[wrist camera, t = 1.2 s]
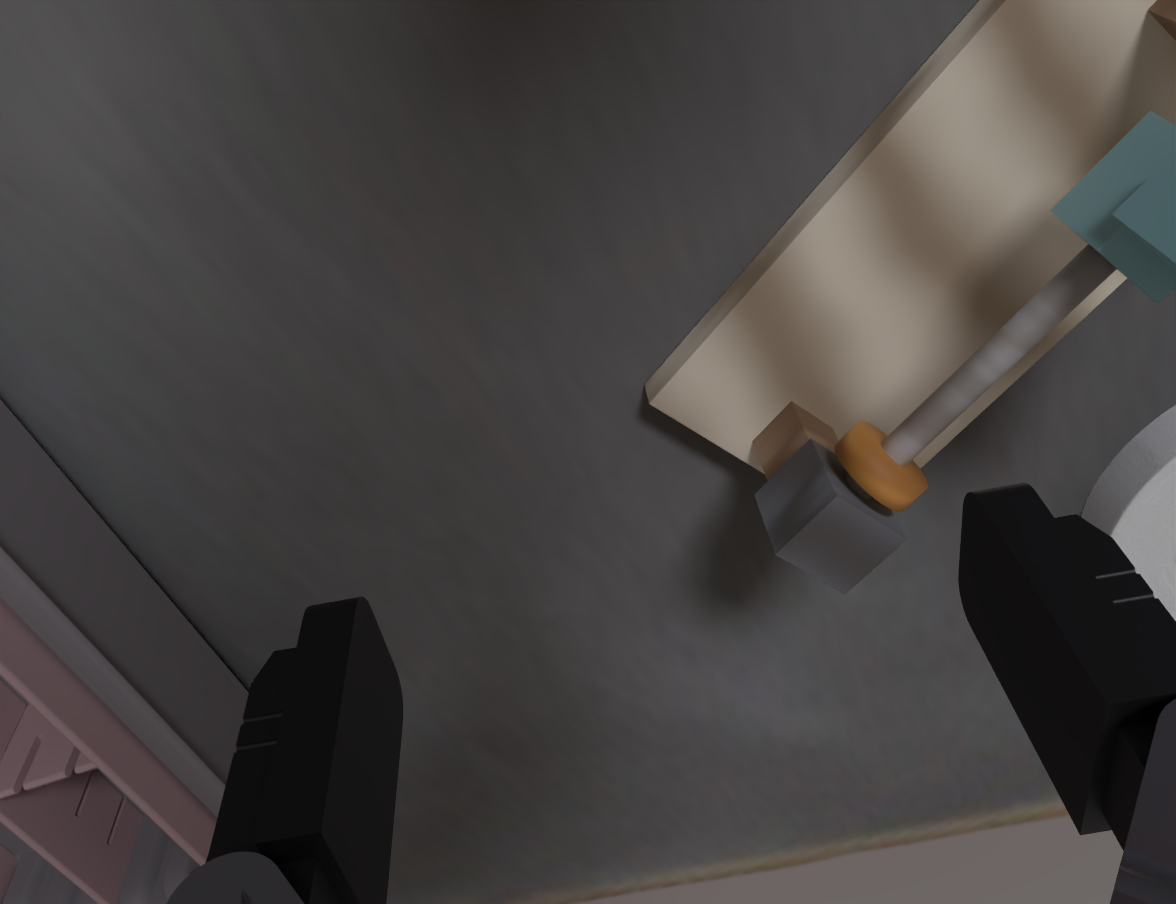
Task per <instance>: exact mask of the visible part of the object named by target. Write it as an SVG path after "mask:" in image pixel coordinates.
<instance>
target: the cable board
mask: <svg viewBox="0 0 1176 904" xmlns="http://www.w3.org/2000/svg"><path fill="white" fill-rule="evenodd" d="M1149 111H1152V112H1153V113H1155V114H1157V115H1159V116H1160V117H1162V118H1164V119H1166V120H1167V121H1169V122H1171V123H1173V124H1174V125H1176V0H979V2H978V3H977V4H976V5H975V6H974V7H973V8H972V10H971V11H970V12H969V13H968V14H967V15H966V16H965V18H964V19H963V20H962V21H961V22H960V23H959V24H958V26H957V27H956V28H955V29H954V30H953V31H952V33H951V34H950V35H949V36H948V37H947V38H946V39H945V41H944V42H943V43H942V44H941V45H940V46H939V47H938V49H937V50H936V51H935V52H934V53H933V54H932V55H931V57H930V58H929V59H928V60H927V61H926V62H925V63H924V65H923V66H922V67H921V68H920V69H919V70H918V72H917V73H916V74H915V75H914V76H913V77H912V78H911V80H910V81H909V82H908V83H907V84H906V85H905V86H904V88H903V89H902V90H901V91H900V92H899V93H898V94H897V96H896V97H895V98H894V99H893V100H892V101H891V102H890V104H889V105H888V106H887V107H886V108H885V109H884V111H883V112H882V113H881V114H880V115H879V116H878V117H877V119H876V120H875V121H874V122H873V123H872V124H871V125H870V127H869V128H868V129H867V130H866V131H865V132H864V133H863V135H862V136H861V137H860V138H859V139H858V140H857V141H856V143H855V144H854V145H853V146H852V147H851V148H850V150H849V151H848V152H847V153H846V154H845V155H844V156H843V158H842V159H841V160H840V161H839V162H838V163H837V164H836V166H835V167H834V168H833V169H832V170H831V171H830V172H829V174H828V175H827V176H826V177H825V178H824V179H823V180H822V182H821V183H820V184H819V185H818V186H817V187H816V189H815V190H814V191H813V192H812V193H811V194H810V195H809V197H808V198H807V199H806V200H805V201H804V202H803V203H802V205H801V206H800V207H799V208H798V209H797V210H796V211H795V213H794V214H793V215H792V216H791V217H790V218H789V219H788V221H787V222H786V223H785V224H784V225H783V226H782V228H781V229H780V230H779V231H778V232H777V233H776V234H775V236H774V237H773V238H772V239H771V240H770V241H769V242H768V244H767V245H766V246H765V247H764V248H763V249H762V250H761V252H760V253H759V254H758V255H757V256H756V257H755V258H754V260H753V261H752V262H751V263H750V264H749V265H748V267H747V268H746V269H745V270H744V271H743V272H742V273H741V275H740V276H739V277H738V278H737V279H736V280H735V281H734V283H733V284H732V285H731V286H730V287H729V288H728V289H727V291H726V292H725V293H724V294H723V295H722V296H721V298H720V299H719V300H718V301H717V302H716V303H715V304H714V306H713V307H712V308H711V309H710V310H709V311H708V312H707V314H706V315H705V316H704V317H703V318H702V319H701V320H700V322H699V323H698V324H697V325H696V326H695V327H694V328H693V330H692V331H691V332H690V333H689V334H688V335H687V337H686V338H685V339H684V340H683V341H682V342H681V343H680V345H679V346H678V347H677V348H676V349H675V350H674V351H673V353H672V354H671V355H670V356H669V357H668V358H667V359H666V361H665V362H664V363H663V364H662V365H661V366H660V367H659V369H658V370H657V371H656V372H655V373H654V374H653V376H652V377H651V378H650V379H649V380H648V381H647V382H646V384H645V389H646V393H647V397H648V401H649V404H650V405H652V406H653V407H655V408H657V409H658V410H660V411H662V412H663V413H665V414H667V415H668V416H670V417H671V418H673V419H675V420H676V421H678V422H680V423H681V424H683V425H685V426H686V427H688V428H690V429H691V430H693V431H694V432H696V433H698V434H699V435H701V436H703V437H704V438H706V439H708V440H709V441H711V442H713V443H714V444H716V445H717V446H719V447H721V448H722V449H724V450H726V451H727V452H729V453H731V454H732V455H734V456H736V457H737V458H739V459H740V460H742V461H744V462H745V463H747V464H749V465H750V466H752V467H754V468H755V469H757V470H759V471H760V472H762V473H763V474H765V476H766V479H767V482H766V483H765V484H764V485H763V486H762V487H761V488H760V489H759V490H758V491H757V492H756V493H755V494H754V496H755V498H756V501H757V504H758V507H759V510H760V513H761V516H762V519H763V521H764V524H765V527H766V530H767V533H768V536H769V539H770V542H771V545H772V547H773V550H774V553H775V555H776V556H778V557H780V558H781V559H783V560H785V561H787V562H788V563H790V564H792V565H794V566H795V567H797V568H799V569H801V570H802V571H804V572H806V573H808V574H809V575H811V576H813V577H815V578H816V579H818V580H820V581H822V582H824V583H825V584H827V585H829V586H831V587H832V588H834V589H836V590H838V591H839V592H841V593H843V594H846V593H847V592H848V591H850V590H851V589H852V588H853V587H854V586H855V585H856V584H857V583H859V582H860V581H861V580H862V579H863V578H864V577H865V576H866V575H868V574H869V573H870V572H871V571H872V570H873V569H874V568H875V567H877V566H878V565H879V564H880V563H881V562H882V561H883V560H884V559H886V558H887V557H888V556H889V555H890V554H891V553H892V552H893V551H895V550H896V549H897V548H898V547H899V546H900V545H901V544H902V543H904V542H905V541H906V540H907V539H906V537H905V535H904V533H903V531H902V529H901V527H900V525H899V523H898V521H897V519H896V517H895V516H894V514H893V512H892V510H894V511H897V512H901V511H903V510H904V509H905V508H906V507H908V506H909V505H910V504H911V503H912V502H913V501H914V500H915V499H916V498H917V497H919V496H920V495H921V494H922V493H923V492H924V491H925V490H926V489H927V488H928V482H927V480H926V478H925V476H924V474H923V472H922V471H921V470H920V469H921V468H922V467H923V466H924V465H925V464H926V463H927V462H928V461H929V460H931V459H932V458H933V457H934V456H935V455H936V454H937V453H938V452H939V451H940V450H941V449H942V448H944V447H945V446H946V445H947V444H948V443H949V442H950V441H951V440H952V439H953V438H954V437H955V436H957V435H958V434H959V433H960V432H961V431H962V430H963V429H964V428H965V427H966V426H967V425H968V424H970V423H971V422H972V421H973V420H974V419H975V418H976V417H977V416H978V415H979V414H980V413H982V412H983V411H984V410H985V409H986V408H987V407H988V406H989V405H990V404H991V403H992V402H993V401H995V400H996V399H997V398H998V397H999V396H1000V395H1001V394H1002V393H1003V392H1004V391H1005V390H1006V389H1008V388H1009V387H1010V386H1011V385H1012V384H1013V383H1014V382H1015V381H1016V380H1017V379H1018V378H1019V377H1021V376H1022V375H1023V374H1024V373H1025V372H1026V371H1027V370H1028V369H1029V368H1030V367H1031V366H1032V365H1034V364H1035V363H1036V362H1037V361H1038V360H1039V359H1040V358H1041V357H1042V356H1043V355H1044V354H1045V353H1047V352H1048V351H1049V350H1050V349H1051V348H1052V347H1053V346H1054V345H1055V344H1056V343H1057V342H1058V341H1060V340H1061V339H1062V338H1063V337H1064V336H1065V335H1066V334H1067V333H1068V332H1069V331H1070V330H1071V329H1073V328H1074V327H1075V326H1076V325H1077V324H1078V323H1079V322H1080V321H1081V320H1082V319H1083V318H1085V317H1086V316H1087V315H1088V314H1089V313H1090V312H1091V311H1092V310H1093V309H1094V308H1095V307H1096V306H1098V305H1099V304H1100V303H1101V302H1102V301H1103V300H1104V299H1105V298H1106V297H1107V296H1108V295H1109V294H1111V293H1112V292H1113V291H1114V290H1115V289H1116V288H1117V287H1118V286H1119V285H1120V284H1121V283H1122V282H1124V281H1125V280H1126V279H1127V277H1125V276H1124V275H1123V274H1122V273H1121V272H1120V271H1118V270H1117V268H1116V267H1115V266H1114V265H1112V264H1111V263H1110V262H1109V261H1108V260H1107V259H1106V258H1105V257H1103V256H1102V255H1101V254H1100V253H1099V252H1098V251H1097V250H1095V249H1094V248H1093V247H1092V246H1091V245H1089V244H1087V243H1086V242H1085V241H1084V240H1083V239H1082V238H1081V237H1080V236H1078V235H1077V234H1076V233H1075V232H1074V231H1073V230H1072V229H1070V228H1069V227H1068V226H1067V225H1066V224H1065V223H1064V222H1062V221H1061V220H1060V219H1059V218H1058V217H1057V216H1056V215H1055V214H1053V213H1052V212H1051V211H1050V210H1051V209H1052V208H1053V207H1054V206H1055V205H1056V204H1057V203H1058V202H1059V201H1060V200H1061V199H1062V198H1063V197H1064V196H1065V195H1066V194H1067V193H1068V192H1069V191H1070V190H1071V189H1072V188H1073V187H1074V186H1075V185H1076V184H1077V183H1078V182H1079V181H1080V180H1081V179H1082V178H1083V177H1084V176H1085V175H1086V174H1087V173H1088V172H1089V171H1090V170H1091V169H1092V168H1093V167H1094V166H1095V165H1096V164H1097V163H1098V162H1099V161H1100V160H1101V159H1102V158H1103V157H1104V156H1105V155H1106V154H1107V153H1108V152H1109V151H1110V150H1111V149H1112V148H1113V147H1114V146H1115V145H1116V144H1117V143H1118V142H1119V141H1120V140H1121V139H1122V138H1123V137H1124V136H1125V135H1126V134H1127V133H1128V132H1129V131H1130V130H1131V129H1132V128H1133V127H1134V126H1135V125H1136V124H1137V123H1138V122H1139V121H1140V120H1141V119H1142V118H1143V117H1144V116H1145V115H1146V114H1147V113H1148V112H1149ZM891 509H892V510H891Z"/></svg>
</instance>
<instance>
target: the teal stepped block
mask: <svg viewBox="0 0 1176 904" xmlns="http://www.w3.org/2000/svg"><path fill="white" fill-rule="evenodd" d="M1050 211H1051V212H1052V213H1053V214H1055V215H1056V216H1057V217H1058V218H1059V219H1060V220H1061V221H1062V222H1064V223H1065V224H1066V225H1067V226H1068V227H1069V228H1070V229H1072V230H1073V231H1074V232H1075V233H1076V234H1077V235H1078V236H1080V237H1081V238H1082V239H1083V240H1084V241H1085V242H1086V243H1087V244H1089V245H1091V246H1092V247H1093V248H1094V249H1095V250H1097V251H1098V252H1099V253H1100V254H1101V255H1102V256H1103V257H1105V258H1106V259H1107V260H1108V261H1109V262H1110V263H1111V264H1112V265H1114V266H1115V267H1116V268H1117V270H1118V271H1120V272H1121V273H1122V274H1123V275H1124V276H1125V277H1127V278H1128V279H1129V280H1130V281H1131V282H1132V283H1134V284H1135V285H1136V286H1137V287H1138V288H1139V289H1141V290H1142V291H1143V292H1144V293H1145V294H1147V295H1148V296H1149V297H1150V298H1151V299H1152V300H1154V301H1155V302H1156V303H1157V304H1158V303H1159V302H1161V301H1162V300H1163V299H1164V298H1165V297H1166V296H1167V295H1168V294H1169V293H1171V292H1172V291H1173V290H1174V289H1175V288H1176V125H1174V124H1173V123H1171V122H1169V121H1167V120H1166V119H1164V118H1162V117H1160V116H1159V115H1157V114H1155V113H1153V112H1152V111H1149V112H1148V113H1147V114H1146V115H1145V116H1144V117H1143V118H1142V119H1141V120H1140V121H1139V122H1138V123H1137V124H1136V125H1135V126H1134V127H1133V128H1132V129H1131V130H1130V131H1129V132H1128V133H1127V134H1126V135H1125V136H1124V137H1123V138H1122V139H1121V140H1120V141H1119V142H1118V143H1117V144H1116V145H1115V146H1114V147H1113V148H1112V149H1111V150H1110V151H1109V152H1108V153H1107V154H1106V155H1105V156H1104V157H1103V158H1102V159H1101V160H1100V161H1099V162H1098V163H1097V164H1096V165H1095V166H1094V167H1093V168H1092V169H1091V170H1090V171H1089V172H1088V173H1087V174H1086V175H1085V176H1084V177H1083V178H1082V179H1081V180H1080V181H1079V182H1078V183H1077V184H1076V185H1075V186H1074V187H1073V188H1072V189H1071V190H1070V191H1069V192H1068V193H1067V194H1066V195H1065V196H1064V197H1063V198H1062V199H1061V200H1060V201H1059V202H1058V203H1057V204H1056V205H1055V206H1054V207H1053V208H1052V209H1051V210H1050Z"/></svg>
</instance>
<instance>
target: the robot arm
mask: <svg viewBox="0 0 1176 904" xmlns="http://www.w3.org/2000/svg"><path fill="white" fill-rule="evenodd" d="M958 580H959V591H960V597H961V601H962V605H963V609H964V612H965V615H966V617H967V620H968V622H969V624H970V626H971V628H972V630H973V632H974V634H975V636H976V638H977V640H978V641H979V643H980V645H981V647H982V649H983V651H984V653H985V655H986V657H987V659H988V661H989V662H990V664H991V666H992V668H993V670H994V672H995V674H996V676H997V678H998V680H999V681H1000V683H1001V685H1002V687H1003V689H1004V691H1005V693H1006V695H1007V697H1008V699H1009V700H1010V702H1011V704H1012V706H1013V708H1014V710H1015V712H1016V714H1017V716H1018V718H1019V720H1020V721H1021V723H1022V725H1023V727H1024V729H1025V731H1026V733H1027V735H1028V737H1029V739H1030V740H1031V742H1032V744H1033V746H1034V748H1035V750H1036V752H1037V754H1038V756H1039V758H1040V760H1041V761H1042V763H1043V765H1044V767H1045V769H1046V771H1047V773H1048V775H1049V777H1050V779H1051V780H1052V782H1053V784H1054V786H1055V788H1056V790H1057V792H1058V794H1059V796H1060V798H1061V800H1062V801H1063V803H1064V805H1065V807H1066V809H1067V811H1068V813H1069V815H1070V817H1071V819H1072V820H1073V822H1074V824H1075V826H1076V828H1077V830H1078V832H1079V834H1080V835H1084V834H1090V833H1096V832H1103V831H1108V830H1112V831H1113V833H1114V835H1115V836H1116V838H1117V840H1118V842H1119V844H1120V845H1121V847H1122V849H1123V851H1124V853H1123V856H1122V860H1121V863H1120V867H1119V871H1118V875H1117V878H1116V882H1115V886H1114V890H1113V894H1112V898H1111V901H1110V904H1176V621H1175V620H1174V618H1173V617H1172V616H1171V614H1170V613H1169V612H1168V611H1167V609H1166V608H1165V607H1164V605H1163V604H1162V603H1161V601H1160V600H1159V599H1158V598H1155V597H1154V595H1153V591H1152V589H1151V588H1150V587H1149V585H1148V584H1147V583H1146V581H1145V580H1144V579H1143V577H1142V576H1141V575H1140V573H1139V574H1137V573H1136V572H1135V567H1134V565H1133V564H1132V563H1131V562H1130V560H1129V559H1128V558H1127V556H1126V555H1125V554H1124V552H1123V551H1122V550H1121V548H1120V547H1119V546H1118V544H1117V543H1116V542H1115V540H1114V539H1113V538H1112V537H1111V536H1109V535H1108V534H1106V533H1105V532H1103V531H1101V530H1100V529H1098V528H1097V527H1095V526H1094V525H1092V524H1091V523H1089V522H1088V521H1086V520H1085V519H1083V518H1081V517H1080V516H1078V515H1077V514H1075V515H1069V516H1064V517H1058V518H1054V517H1053V515H1052V514H1051V513H1050V511H1049V510H1048V508H1047V507H1046V506H1045V504H1044V503H1043V501H1042V500H1041V498H1040V497H1039V496H1038V494H1037V493H1036V491H1035V490H1034V489H1033V488H1032V487H1031V486H1030V485H1029V484H1027V483H1021V484H1015V485H1009V486H1003V487H998V488H992V489H986V490H981V491H975V492H969V493H967V494H966V496H965V498H964V502H963V514H962V529H961V544H960V560H959V577H958ZM402 725H403V699H402V691H401V686H400V681H399V677H398V674H397V671H396V668H395V666H394V663H393V661H392V658H391V656H390V653H389V651H388V649H387V646H386V644H385V641H384V639H383V636H382V634H381V631H380V629H379V626H378V624H377V621H376V619H375V616H374V614H373V612H372V609H371V607H370V605H369V603H368V601H367V600H366V599H365V598H364V597H358V598H352V599H346V600H341V601H335V602H329V603H323V604H318V605H312V606H309V607H307V609H306V610H305V612H304V616H303V620H302V625H301V629H300V634H299V639H298V644H297V648H291V649H285V650H279V651H274V652H273V654H272V655H271V656H270V658H269V659H268V661H267V662H266V664H265V665H264V666H263V668H262V669H261V671H260V672H259V674H258V675H257V676H256V678H255V679H254V681H253V682H252V684H251V687H250V691H249V695H248V699H247V703H246V706H245V710H244V714H243V724H242V725H241V726H240V730H239V734H238V738H237V742H236V749H237V751H236V752H235V753H234V754H233V758H232V762H231V766H230V770H229V774H228V778H227V782H226V786H225V790H224V794H223V798H222V802H221V806H220V810H219V814H218V818H217V822H216V826H215V830H214V834H213V838H212V842H211V846H210V849H209V853H208V856H207V859H206V862H205V864H203V865H202V866H200V867H199V868H197V869H196V870H195V871H193V872H192V873H191V874H190V875H189V876H187V877H186V878H185V879H184V880H183V881H182V882H181V884H180V885H179V886H178V887H177V888H176V889H175V891H174V892H173V893H172V895H171V896H170V898H169V900H168V901H167V903H166V904H386V900H387V889H388V878H389V867H390V856H391V845H392V834H393V823H394V812H395V801H396V790H397V779H398V769H399V758H400V747H401V736H402Z"/></svg>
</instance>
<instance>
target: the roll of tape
mask: <svg viewBox="0 0 1176 904" xmlns="http://www.w3.org/2000/svg"><path fill="white" fill-rule="evenodd" d="M1081 518H1083V519H1085V520H1086V521H1088V522H1089V523H1091V524H1092V525H1094V526H1095V527H1097V528H1098V529H1100V530H1101V531H1103V532H1105V533H1106V534H1108V535H1109V536H1111V537H1112V538H1113V539H1114V540H1115V542H1116V543H1117V544H1118V546H1119V547H1120V548H1121V550H1122V551H1123V552H1124V554H1125V555H1126V556H1127V558H1128V559H1129V560H1130V562H1131V563H1132V564H1133V565H1134V567H1135V572H1136V573H1137V574H1139V573H1140V575H1141V576H1142V577H1143V579H1144V580H1145V581H1146V583H1147V584H1148V585H1149V587H1150V588H1151V589H1152V591H1153V595H1154V597H1155V598H1158V599H1159V600H1160V601H1161V603H1162V604H1163V605H1164V607H1165V608H1166V609H1167V611H1168V612H1169V613H1170V614H1171V616H1172V617H1173V618H1174V620H1175V621H1176V405H1175V406H1173V407H1172V408H1170V409H1169V410H1167V411H1166V412H1164V413H1163V414H1162V415H1160V416H1159V417H1158V418H1156V419H1155V420H1154V421H1152V422H1151V423H1150V424H1149V425H1148V426H1146V427H1145V428H1144V429H1143V430H1142V431H1141V432H1139V433H1138V434H1137V435H1136V436H1135V437H1134V438H1133V439H1132V440H1131V441H1130V442H1129V443H1128V444H1127V445H1126V446H1125V447H1124V448H1123V449H1122V450H1121V451H1120V452H1119V453H1118V454H1117V455H1116V457H1115V458H1114V459H1113V460H1112V461H1111V463H1110V464H1109V465H1108V467H1107V468H1106V469H1105V470H1104V472H1103V473H1102V474H1101V476H1100V477H1099V479H1098V481H1097V482H1096V484H1095V485H1094V487H1093V489H1092V491H1091V493H1090V495H1089V497H1088V499H1087V501H1086V504H1085V506H1084V509H1083V512H1082V516H1081Z"/></svg>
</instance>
